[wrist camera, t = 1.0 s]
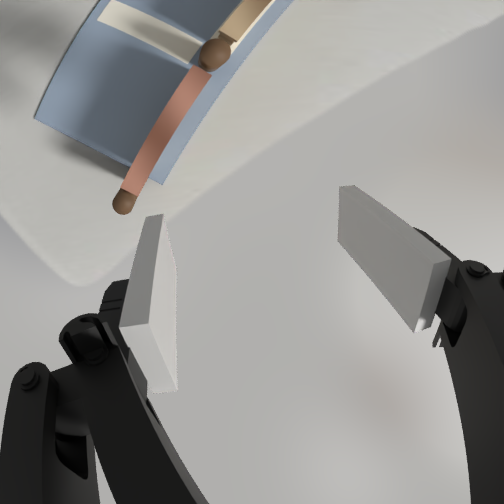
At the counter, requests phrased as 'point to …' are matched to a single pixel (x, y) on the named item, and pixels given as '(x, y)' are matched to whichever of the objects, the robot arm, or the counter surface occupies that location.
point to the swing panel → (159, 138)
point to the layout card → (142, 73)
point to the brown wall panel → (229, 34)
